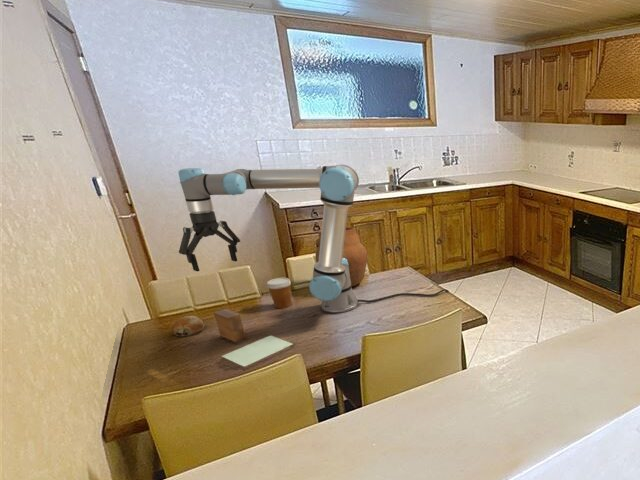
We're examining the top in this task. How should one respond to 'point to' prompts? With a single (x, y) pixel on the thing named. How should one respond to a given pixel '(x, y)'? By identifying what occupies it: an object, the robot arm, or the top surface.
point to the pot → (351, 254)
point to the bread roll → (187, 326)
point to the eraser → (229, 324)
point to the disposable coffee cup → (280, 292)
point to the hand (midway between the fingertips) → (216, 265)
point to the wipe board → (256, 350)
